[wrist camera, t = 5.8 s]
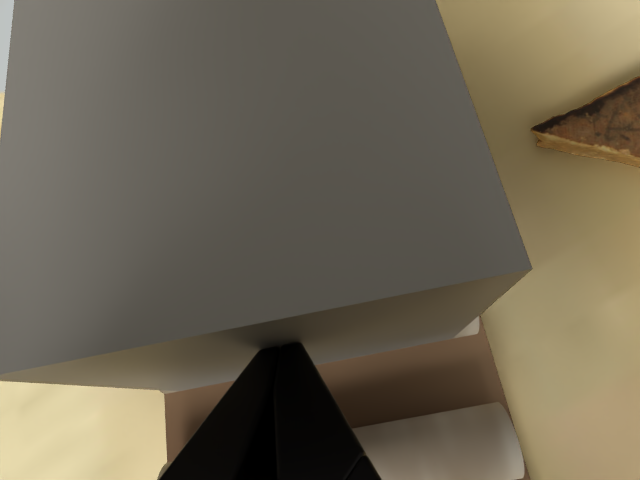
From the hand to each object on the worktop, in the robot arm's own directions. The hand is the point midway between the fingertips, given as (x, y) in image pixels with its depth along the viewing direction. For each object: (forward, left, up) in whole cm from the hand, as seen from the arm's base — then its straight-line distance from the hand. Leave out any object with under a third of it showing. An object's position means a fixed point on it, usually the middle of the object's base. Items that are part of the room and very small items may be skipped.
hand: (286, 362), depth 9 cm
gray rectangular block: (+4, +3, -4) cm, 7 cm away
